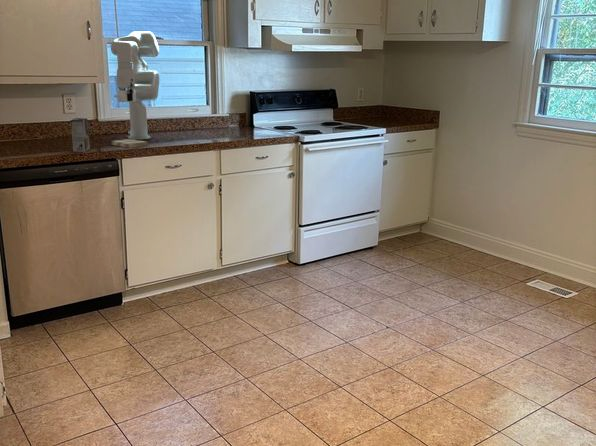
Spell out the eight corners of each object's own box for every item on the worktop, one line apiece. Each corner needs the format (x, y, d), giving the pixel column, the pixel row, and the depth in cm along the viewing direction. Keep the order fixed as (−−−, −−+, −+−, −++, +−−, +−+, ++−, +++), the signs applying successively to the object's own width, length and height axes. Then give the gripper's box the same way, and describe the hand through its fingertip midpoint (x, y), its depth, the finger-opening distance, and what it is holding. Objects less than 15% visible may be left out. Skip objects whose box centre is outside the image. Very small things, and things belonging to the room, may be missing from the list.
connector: (113, 101, 321) (112, 90, 320) (132, 100, 331) (131, 89, 329) (118, 102, 319) (117, 90, 317) (137, 101, 328) (137, 89, 327)
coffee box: (77, 148, 317) (75, 117, 312) (90, 149, 317) (87, 118, 313) (72, 151, 308) (70, 119, 304) (85, 151, 308) (83, 120, 304)
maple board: (111, 144, 332) (111, 141, 332) (129, 142, 341) (129, 138, 341) (129, 147, 323) (129, 144, 322) (147, 145, 332) (147, 141, 332)
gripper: (109, 65, 323) (111, 100, 328) (129, 66, 313) (131, 102, 318) (121, 65, 328) (123, 99, 333) (140, 66, 318) (142, 101, 324)
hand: (127, 100), depth 326 cm, fingers closed on connector, 4 cm apart
